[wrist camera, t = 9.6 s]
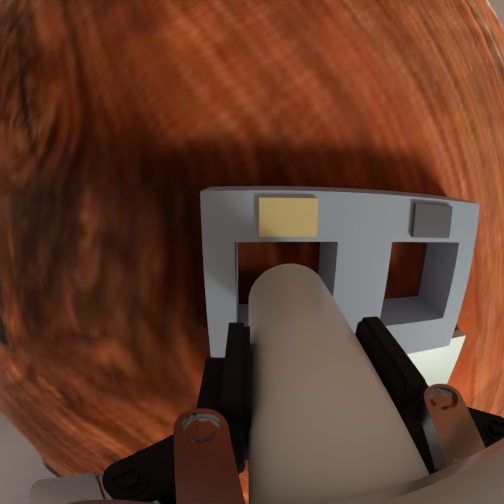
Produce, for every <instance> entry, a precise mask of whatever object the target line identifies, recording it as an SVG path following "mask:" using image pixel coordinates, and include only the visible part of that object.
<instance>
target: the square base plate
mask: <svg viewBox="0 0 504 504" xmlns="http://www.w3.org/2000/svg"><path fill="white" fill-rule="evenodd" d="M465 337H466V335H465V334H464V333H463V332H462V331H461V330H455V331H454V333H453V336H452V339H451V342H450V344H449V346H445V347H441V348H436V349H431V350H426V351H421V352H416V353H411V354H407V355H408V357H409V358H410V359H411V361H412V362H413V363H414V365H415V366H416V368H417V369H418V370H419V372H420V373H421V374H422V376H423V377H424V379H425V380H426V381H425V382H426V383H427V385H428V386H431V385H434V384H447V382H448V380H449V377H450V375H451V373H452V370H453V368H454V366H455V363H456V361H457V358H458V356H459V353H460V350H461V348H462V345H463V342H464V340H465Z"/></svg>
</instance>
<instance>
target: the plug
mask: <svg viewBox="0 0 504 504" xmlns="http://www.w3.org/2000/svg"><path fill="white" fill-rule="evenodd" d="M248 326H250V370H251V426H250V429H249V504H324V503H330V502H336V501H341V500H346V499H351V498H356V497H360V496H364V495H368V494H372V493H376V492H380V491H383V490H387V489H390V488H393V487H397V486H400V485H403V484H406V483H409V482H412V481H414V480H417V479H420V478H423V477H425V476H428V475H430V474H429V472H428V470H427V468H426V466H425V464H424V462H423V460H422V458H421V456H420V454H419V452H418V450H417V448H416V446H415V444H414V442H413V440H412V438H411V436H410V434H409V432H408V430H407V428H406V426H405V424H404V422H403V420H402V418H401V416H400V414H399V413H398V411H397V409H396V407H395V405H394V403H393V401H392V399H391V398H390V396H389V394H388V392H387V390H386V388H385V387H384V385H383V383H382V381H381V379H380V377H379V376H378V374H377V372H376V370H375V368H374V367H373V365H372V363H371V361H370V360H369V358H368V356H367V354H366V353H365V351H364V349H363V347H362V346H361V344H360V342H359V340H358V339H357V337H356V335H355V334H354V332H353V330H352V329H351V327H350V325H349V323H348V322H347V320H346V318H345V317H344V315H343V313H342V312H341V310H340V308H339V307H338V305H337V303H336V302H335V300H334V298H333V297H332V295H331V294H330V292H329V290H328V289H327V287H326V285H325V284H324V282H323V281H322V279H321V278H320V276H319V275H318V274H317V273H316V272H315V271H313V270H312V269H310V268H308V267H306V266H303V265H299V264H282V265H278V266H275V267H273V268H270V269H269V270H267V271H265V272H264V273H263V274H262V275H260V276H259V277H258V279H257V280H256V281H255V282H254V284H253V286H252V288H251V291H250V294H249V302H248Z"/></svg>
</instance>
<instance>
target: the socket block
mask: <svg viewBox="0 0 504 504" xmlns="http://www.w3.org/2000/svg"><path fill="white" fill-rule="evenodd" d="M200 200H201V227H202V247H203V265H204V281H205V295H206V308H207V320H208V332H209V342H210V353H211V357H225V352H226V343H227V335H228V326H229V323H244V326H248V304H239V282H238V242H320V254H319V269H318V275H319V276H320V278H321V279H322V281H323V282H324V284H325V285H326V287H327V289H328V290H329V292H330V294H331V295H332V297H333V298H334V300H335V302H336V303H337V305H338V307H339V308H340V310H341V312H342V313H343V315H344V317H345V318H346V320H347V322H348V323H349V325H350V327H351V329H352V330H353V332H354V334H355V333H356V328H357V323H358V322H359V321H361V320H362V318H364V317H374V316H377V317H379V319H380V320H381V321H382V322H383V324H384V325H385V326H386V328H387V329H388V330H389V331H390V333H391V334H392V335H393V337H394V338H395V339H396V341H397V342H398V343H399V345H400V346H401V347H402V349H403V350H404V351H405V353H406V354H411V353H416V352H421V351H426V350H431V349H436V348H441V347H445V346H449V344H450V342H451V339H452V336H453V333H454V329H455V326H456V323H457V320H458V316H459V313H460V309H461V306H462V302H463V298H464V294H465V290H466V286H467V282H468V277H469V273H470V268H471V263H472V257H473V252H474V246H475V239H476V232H477V225H478V216H479V205H480V204H477V203H473V202H469V201H465V200H461V199H456V198H452V197H447V196H439V195H430V194H420V193H409V192H398V191H385V190H371V189H355V188H334V187H304V186H221V187H209V188H207V189H205V190H202V191H200ZM392 242H427V247H426V254H425V261H424V267H423V273H422V278H421V283H420V288H419V293H418V296H413V297H401V298H388V299H384V294H385V288H386V282H387V276H388V269H389V262H390V254H391V245H392Z"/></svg>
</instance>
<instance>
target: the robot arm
mask: <svg viewBox="0 0 504 504" xmlns="http://www.w3.org/2000/svg"><path fill="white" fill-rule="evenodd" d="M355 335H356V337H357V339H358V340H359V342H360V344H361V346H362V347H363V349H364V351H365V353H366V354H367V356H368V358H369V360H370V361H371V363H372V365H373V367H374V368H375V370H376V372H377V374H378V376H379V377H380V379H381V381H382V383H383V385H384V387H385V388H386V390H387V392H388V394H389V396H390V398H391V399H392V401H393V403H394V405H395V407H396V409H397V411H398V413H399V414H400V416H401V418H402V420H403V422H404V424H405V426H406V428H407V430H408V432H409V434H410V436H411V438H412V440H413V442H414V444H415V446H416V448H417V450H418V452H419V454H420V456H421V458H422V460H423V462H424V464H425V466H426V468H427V470H428V472H429V474H430V475H428V476H425V477H423V478H420V479H417V480H414V481H412V482H409V483H406V484H403V485H400V486H397V487H393V488H390V489H387V490H383V491H380V492H376V493H372V494H368V495H364V496H360V497H356V498H351V499H346V500H341V501H336V502H330V503H324V504H504V418H503V417H500V416H497V415H494V414H490V413H486V412H483V411H479V410H476V409H473V408H469V407H467V406H466V404H465V402H464V400H463V398H462V396H461V394H460V393H459V392H458V391H457V390H456V389H455V388H454V387H452V386H449V385H446V384H434V385H431V386H428V385H427V383H426V382H425V381H426V380H425V379H424V377H423V376H422V374H421V373H420V372H419V370H418V369H417V368H416V366H415V365H414V363H413V362H412V361H411V359H410V358H409V357H408V355H407V354H406V353H405V351H404V350H403V349H402V347H401V346H400V345H399V343H398V342H397V341H396V339H395V338H394V337H393V335H392V334H391V333H390V331H389V330H388V329H387V328H386V326H385V325H384V324H383V322H382V321H381V320H380V319H379V317H377V316H374V317H364V318H362V320H361V321H359V322H358V323H357V328H356V333H355ZM250 426H251V370H250V326H244V323H229V326H228V335H227V343H226V352H225V357H207V359H206V363H205V368H204V373H203V378H202V383H201V388H200V393H199V399H198V404H197V409H192V410H189V411H187V412H184V413H183V414H182V415H180V416H179V417H178V418H177V420H176V421H175V424H174V434H173V435H171V436H169V437H167V438H165V439H163V440H161V441H159V442H157V443H155V444H153V445H151V446H149V447H147V448H145V449H143V450H141V451H139V452H137V453H135V454H133V455H131V456H128V457H126V458H124V459H122V460H120V461H117V462H115V463H113V464H112V465H110V466H109V467H108V468H107V469H106V470H105V471H104V473H101V474H97V475H96V473H95V472H90V473H85V474H79V475H73V476H66V477H59V478H50V479H42V480H39V481H37V482H35V483H34V484H33V485H32V487H31V489H30V502H31V504H245V500H244V496H243V492H242V488H241V484H240V479H239V474H240V473H241V472H243V471H244V468H245V460H249V429H250Z"/></svg>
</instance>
